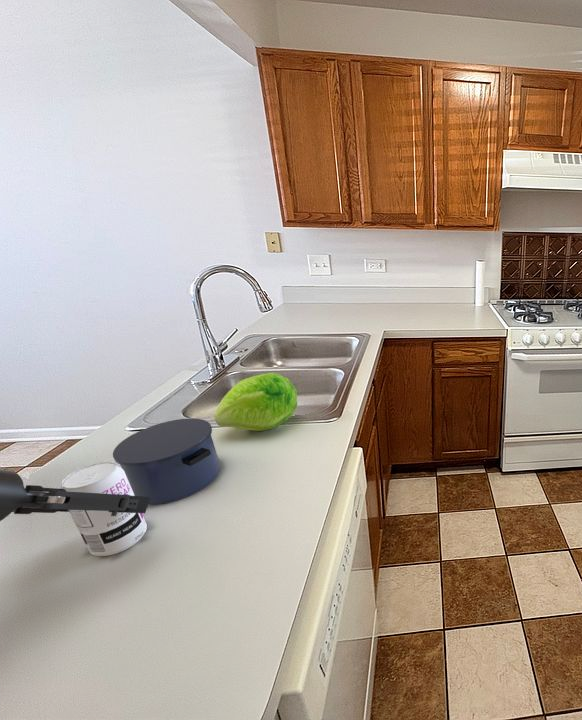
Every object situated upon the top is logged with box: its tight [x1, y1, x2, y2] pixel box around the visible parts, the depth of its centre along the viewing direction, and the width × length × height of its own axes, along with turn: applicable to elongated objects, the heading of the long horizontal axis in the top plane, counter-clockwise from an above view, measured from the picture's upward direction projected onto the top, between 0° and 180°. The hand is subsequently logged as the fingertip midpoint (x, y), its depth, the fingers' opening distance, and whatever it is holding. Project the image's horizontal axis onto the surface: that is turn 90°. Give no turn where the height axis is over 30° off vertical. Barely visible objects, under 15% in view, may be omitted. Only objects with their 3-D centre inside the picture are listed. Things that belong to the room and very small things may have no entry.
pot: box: [112, 417, 222, 506], centre depth 87 cm, size 20×17×11 cm
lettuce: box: [213, 372, 298, 432], centre depth 107 cm, size 17×20×15 cm
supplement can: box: [60, 461, 148, 557], centre depth 70 cm, size 8×8×15 cm
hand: (109, 504), depth 71 cm, fingers open, 13 cm apart
